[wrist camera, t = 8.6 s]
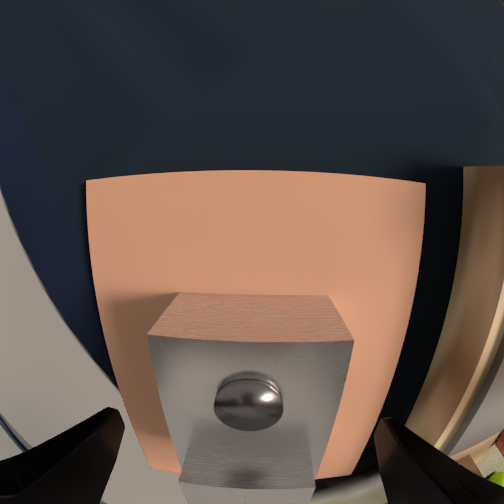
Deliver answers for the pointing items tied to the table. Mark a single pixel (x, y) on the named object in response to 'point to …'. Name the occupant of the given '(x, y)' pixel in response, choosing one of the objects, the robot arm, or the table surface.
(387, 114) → the table surface
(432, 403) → the hand plane
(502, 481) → the molecule model
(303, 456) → the lever cap
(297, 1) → the table surface
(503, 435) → the ink cartridge box
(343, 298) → the rubber mat
